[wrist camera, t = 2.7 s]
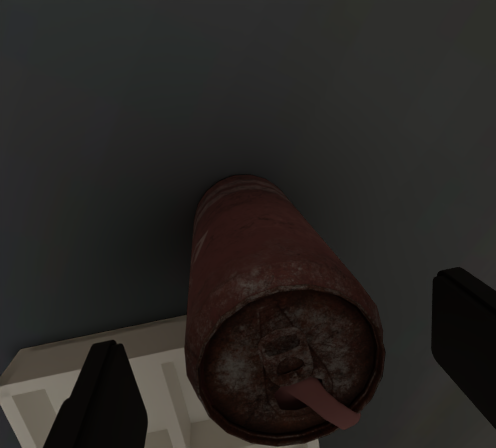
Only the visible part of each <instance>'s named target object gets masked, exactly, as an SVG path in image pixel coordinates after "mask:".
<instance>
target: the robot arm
mask: <svg viewBox="0 0 496 448" xmlns="http://www.w3.org/2000/svg"><path fill="white" fill-rule="evenodd" d="M431 349H432V354H433V356H434V358H435V360H436V361H437V362H438V364H439V365H440V366H441V367H442V368H443V369H444V370H445V372H446V373H447V374H448V375H449V376H450V377H451V378H452V380H453V381H454V382H455V383H456V384H457V385H458V387H459V388H460V389H461V390H462V391H463V392H464V393H465V395H466V396H467V397H468V398H469V399H470V400H471V401H472V403H473V404H474V405H475V406H476V407H477V408H478V409H479V411H480V412H481V413H482V414H483V415H484V416H485V417H486V419H487V420H488V421H489V422H490V423H491V424H492V426H493V427H494V428H495V429H496V291H495V290H494V289H492V288H491V287H489V286H488V285H486V284H485V283H483V282H482V281H480V280H479V279H477V278H476V277H474V276H473V275H472V274H470V273H469V272H467V271H466V270H464V269H463V268H460V267H456V268H451V269H446V270H442V271H439V272H438V274H437V277H434V279H433V294H432V340H431ZM147 428H148V416H147V411H146V408H145V405H144V403H143V400H142V397H141V394H140V391H139V388H138V385H137V383H136V380H135V377H134V374H133V371H132V368H131V365H130V362H129V360H128V357H127V354H126V351H125V348H124V346H123V344H122V343H119V344H117V343H116V341H115V340H108V341H104V342H99V343H94V344H92V346H91V348H90V350H89V353H88V355H87V357H86V360H85V362H84V364H83V367H82V369H81V371H80V374H79V376H78V379H77V381H76V383H75V386H74V388H73V390H72V393H71V395H70V397H69V398H67V399H66V400H65V401H64V402H63V403H62V405H61V407H60V409H59V412H58V414H57V416H56V418H55V421H54V423H53V425H52V427H51V430H50V432H49V434H48V437H47V439H46V441H45V443H44V446H43V448H144V447H145V440H146V434H147Z"/></svg>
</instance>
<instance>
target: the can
mask: <svg viewBox="0 0 496 448" xmlns="http://www.w3.org/2000/svg"><path fill="white" fill-rule="evenodd" d="M184 352H185V363H186V374H187V377H188V379H189V381H190V383H191V385H192V387H193V389H194V391H195V393H196V395H197V397H198V399H199V400H200V401H201V403H202V405H203V407H204V409H205V411H206V412H207V414H208V416H209V418H211V419H212V420H213V421H214V422H215V423H216V424H217V425H218V426H220V427H221V428H222V429H223V430H224V431H225V432H226V433H228V434H230V435H232V436H235V437H237V438H239V439H242V440H244V441H246V442H249V443H251V444H259V445H267V446H275V447H280V446H289V445H297V444H305V443H308V442H311V441H313V440H316V439H319V438H321V437H324V436H327V435H330V434H332V433H333V432H335V431H336V430H338V429H339V428H341V429H342V430H345V429H347V428H349V427H351V426H353V425H355V424H356V423H357V422H358V421H359V419H360V416H361V414H360V411H361V410H362V409H363V408H364V407H365V406H366V405H367V404H368V403H369V402H370V400H371V399H372V397H373V395H374V393H375V391H376V389H377V387H378V385H379V383H380V381H381V379H382V377H383V369H384V361H385V353H386V352H385V348H384V344H383V329H382V325H381V321H380V317H379V313H378V309H377V306H376V304H375V303H374V302H373V300H372V299H371V298H370V296H369V295H368V294H367V292H366V291H365V289H364V288H363V287H362V285H361V284H360V283H359V282H358V281H357V279H356V278H355V277H354V276H353V275H352V274H351V272H350V271H349V270H348V269H347V268H346V266H345V265H344V264H343V263H342V262H341V261H340V259H339V258H338V257H337V256H336V255H335V254H334V252H333V251H332V250H331V249H330V248H329V246H328V245H327V244H326V243H325V242H324V241H323V239H322V238H321V237H320V236H319V235H318V234H317V232H316V231H315V230H314V229H313V228H312V226H311V225H310V224H309V223H308V222H307V221H306V219H305V218H304V217H303V216H302V215H301V214H300V212H299V211H298V210H297V209H296V208H295V207H294V205H293V204H292V203H291V202H290V201H289V199H288V198H287V197H286V196H285V195H284V194H283V192H282V191H281V190H280V189H279V188H278V187H277V186H275V185H274V184H272V183H271V182H269V181H268V180H266V179H264V178H260V177H257V176H253V175H234V176H232V177H229V178H226V179H224V180H221V181H219V182H218V183H216V184H215V185H214V186H212V187H211V188H210V189H209V190H207V191H206V193H205V194H204V196H203V197H202V199H201V200H200V202H199V203H198V206H197V210H196V213H195V217H194V227H193V240H192V253H191V266H190V279H189V292H188V305H187V319H186V332H185V345H184Z"/></svg>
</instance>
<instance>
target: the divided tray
mask: <svg viewBox="0 0 496 448" xmlns="http://www.w3.org/2000/svg"><path fill="white" fill-rule="evenodd" d="M186 319H187V315H183V316H178V317H174V318H169V319H164V320H159V321H154V322H149V323H145V324H140V325H135V326H130V327H125V328H120V329H116V330H111V331H106V332H101V333H96V334H91V335H87V336H82V337H77V338H72V339H67V340H62V341H58V342H53V343H48V344H43V345H38V346H33V347H29V348H24V349H20V350H19V352H18V353H17V355H16V356H15V357H14V359H13V360H12V361H11V363H10V364H9V366H8V367H7V368H6V370H5V371H4V372H3V374H2V375H1V376H0V405H1V407H2V409H3V411H4V413H5V415H6V417H7V419H8V421H9V423H10V424H11V426H12V428H13V430H14V432H15V434H16V436H17V438H18V440H19V442H20V444H21V446H22V448H43V446H44V443H45V441H46V439H47V437H48V434H49V432H50V430H51V427H52V425H53V423H54V421H55V418H56V416H57V414H58V412H59V409H60V407H61V405H62V403H63V402H64V401H65V400H66V399H67V398H69V397H70V395H71V393H72V390H73V388H74V386H75V383H76V381H77V379H78V376H79V374H80V371H81V369H82V367H83V364H84V362H85V360H86V357H87V355H88V353H89V350H90V348H91V346H92V344H94V343H99V342H104V341H108V340H115V341H116V343H117V344H119V343H122V344H123V346H124V348H125V351H126V354H127V357H128V360H129V362H130V365H131V368H132V371H133V374H134V377H135V380H136V383H137V385H138V388H139V391H140V394H141V397H142V400H143V403H144V405H145V408H146V411H147V416H148V428H147V434H146V440H145V447H144V448H319V441H318V439H316V440H313V441H311V442H308V443H305V444H297V445H289V446H280V447H275V446H267V445H259V444H251V443H249V442H246V441H244V440H242V439H239V438H237V437H235V436H232V435H230V434H228V433H226V432H225V431H224V430H223V429H222V428H221V427H220V426H218V425H217V424H216V423H215V422H214V421H213V420H212V419H211V418H209V416H208V414H207V412H206V411H205V409H204V407H203V405H202V403H201V401H200V400H199V399H198V397H197V395H196V393H195V391H194V389H193V387H192V385H191V383H190V381H189V379H188V377H187V374H186V363H185V352H184V345H185V332H186Z"/></svg>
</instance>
